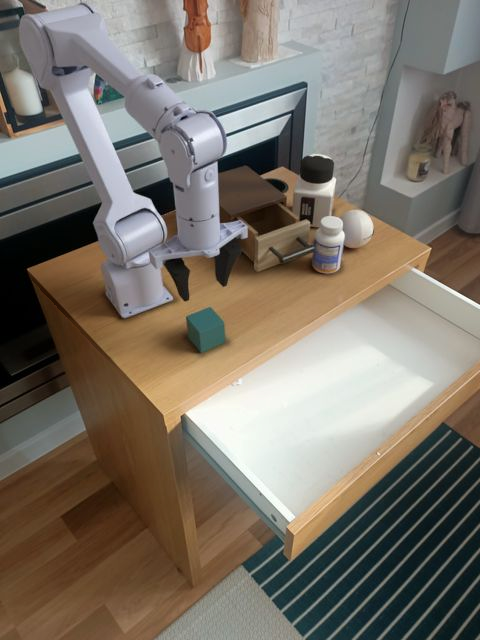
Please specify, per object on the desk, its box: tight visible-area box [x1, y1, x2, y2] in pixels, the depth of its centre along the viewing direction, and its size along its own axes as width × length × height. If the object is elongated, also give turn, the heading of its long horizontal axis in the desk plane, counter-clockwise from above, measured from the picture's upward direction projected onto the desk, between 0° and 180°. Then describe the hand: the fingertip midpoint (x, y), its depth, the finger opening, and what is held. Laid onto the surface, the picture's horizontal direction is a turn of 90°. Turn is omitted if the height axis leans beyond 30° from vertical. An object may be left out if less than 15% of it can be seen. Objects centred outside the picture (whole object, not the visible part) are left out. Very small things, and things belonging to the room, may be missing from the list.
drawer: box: [234, 203, 315, 273], centre depth 104 cm, size 18×11×7 cm, turn 33°
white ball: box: [339, 209, 375, 249], centre depth 108 cm, size 10×7×7 cm
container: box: [291, 153, 337, 229], centre depth 112 cm, size 8×8×13 cm
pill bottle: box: [311, 215, 345, 275], centre depth 102 cm, size 5×5×10 cm
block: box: [185, 306, 226, 354], centre depth 89 cm, size 4×4×4 cm
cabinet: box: [218, 165, 288, 224], centre depth 111 cm, size 15×13×9 cm
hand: (203, 290), depth 83 cm, fingers open, 6 cm apart
